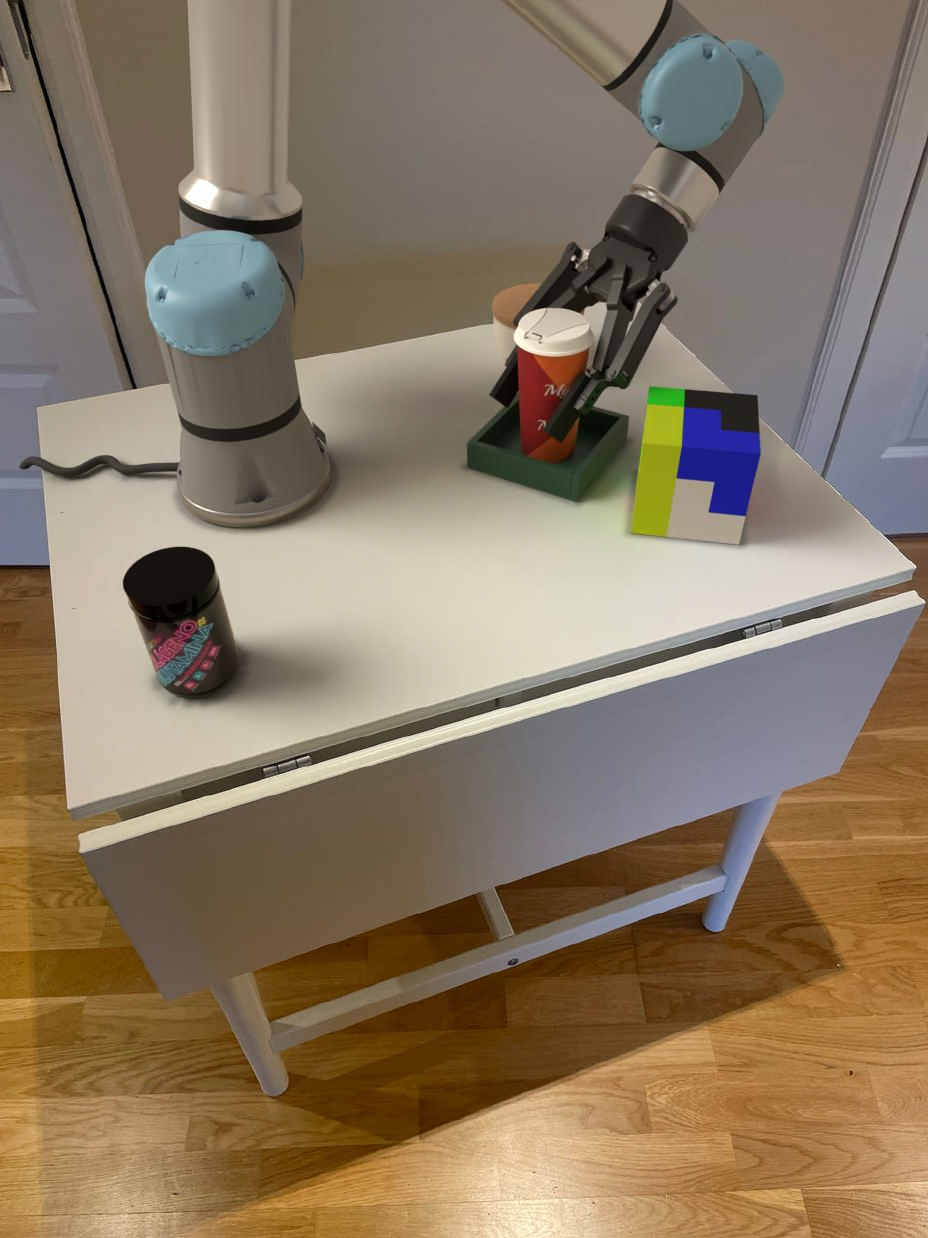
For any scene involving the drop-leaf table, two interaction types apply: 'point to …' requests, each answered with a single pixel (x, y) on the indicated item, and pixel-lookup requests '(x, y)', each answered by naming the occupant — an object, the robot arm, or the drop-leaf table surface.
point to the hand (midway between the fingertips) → (524, 418)
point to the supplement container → (183, 620)
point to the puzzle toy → (696, 464)
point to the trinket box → (510, 314)
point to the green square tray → (568, 479)
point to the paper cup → (549, 375)
